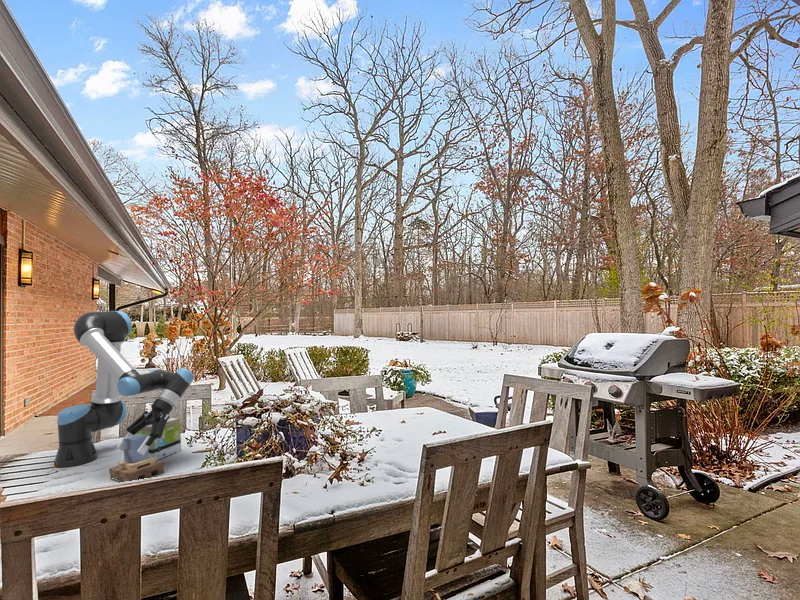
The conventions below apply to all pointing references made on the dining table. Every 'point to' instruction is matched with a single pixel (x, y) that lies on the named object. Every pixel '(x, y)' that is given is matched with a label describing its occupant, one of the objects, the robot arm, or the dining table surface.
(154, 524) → the dining table surface
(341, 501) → the dining table surface
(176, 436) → the tea box
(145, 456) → the pallet
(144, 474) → the block
